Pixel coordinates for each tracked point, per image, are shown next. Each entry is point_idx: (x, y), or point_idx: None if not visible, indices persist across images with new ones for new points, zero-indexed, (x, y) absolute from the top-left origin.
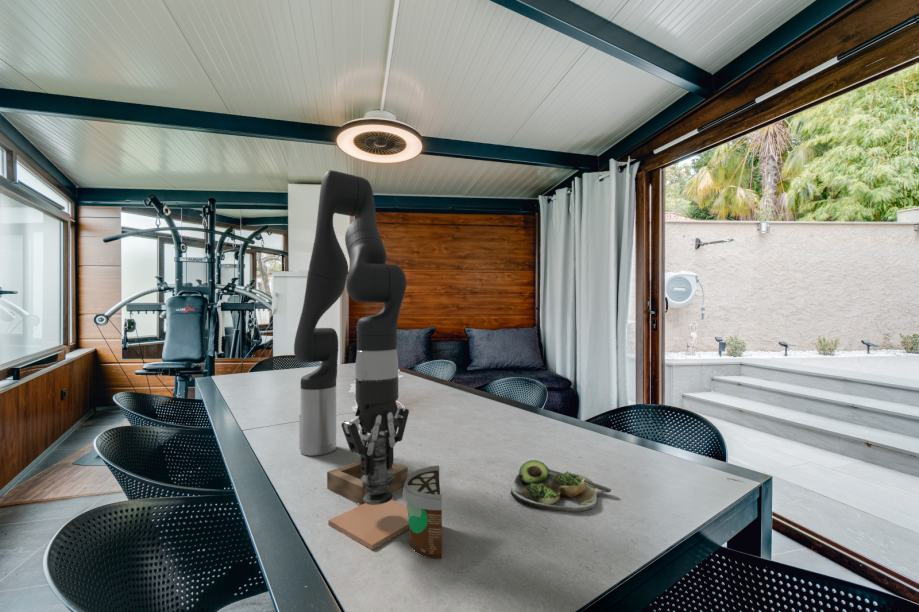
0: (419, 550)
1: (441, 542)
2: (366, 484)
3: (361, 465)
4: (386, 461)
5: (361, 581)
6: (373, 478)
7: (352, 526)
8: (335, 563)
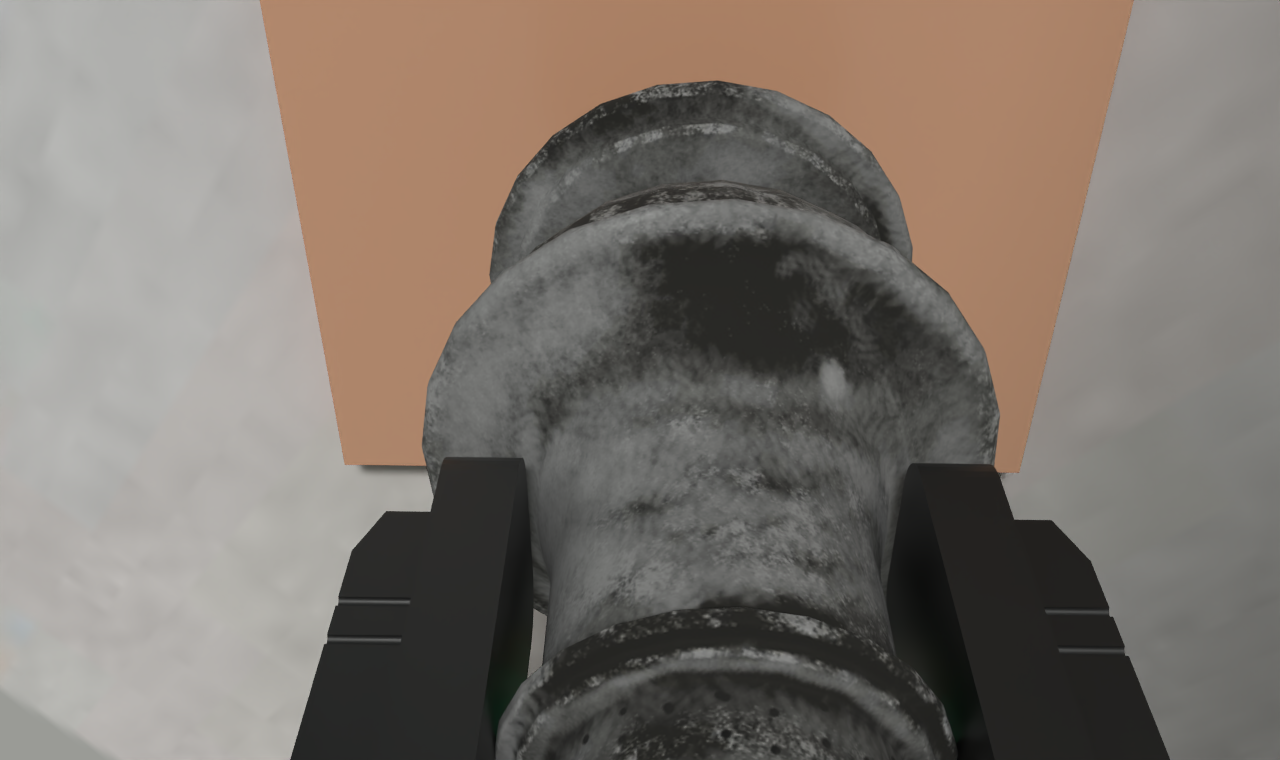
0: None
1: None
2: (435, 487)
3: (332, 642)
4: (916, 663)
5: (121, 605)
6: (544, 564)
7: (369, 101)
8: (35, 356)
